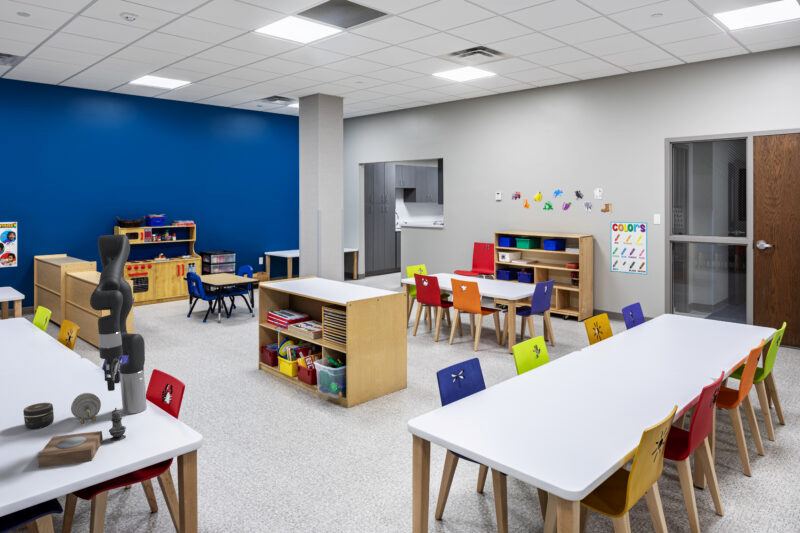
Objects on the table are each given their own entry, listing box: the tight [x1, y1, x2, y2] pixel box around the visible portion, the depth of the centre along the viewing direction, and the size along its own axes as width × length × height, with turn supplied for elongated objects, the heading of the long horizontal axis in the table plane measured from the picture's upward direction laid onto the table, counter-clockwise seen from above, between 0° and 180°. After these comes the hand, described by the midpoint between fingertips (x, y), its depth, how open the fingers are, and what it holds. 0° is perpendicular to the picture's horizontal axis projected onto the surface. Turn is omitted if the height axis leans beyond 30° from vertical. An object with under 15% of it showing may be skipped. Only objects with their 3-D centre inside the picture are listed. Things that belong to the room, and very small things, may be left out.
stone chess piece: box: [108, 407, 127, 442], centre depth 204 cm, size 6×6×12 cm
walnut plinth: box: [37, 430, 104, 468], centre depth 193 cm, size 16×16×4 cm
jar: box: [22, 402, 55, 430], centre depth 218 cm, size 10×10×8 cm
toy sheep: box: [70, 392, 102, 425], centre depth 222 cm, size 11×17×11 cm, turn 39°
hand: (113, 386), depth 203 cm, fingers open, 8 cm apart
